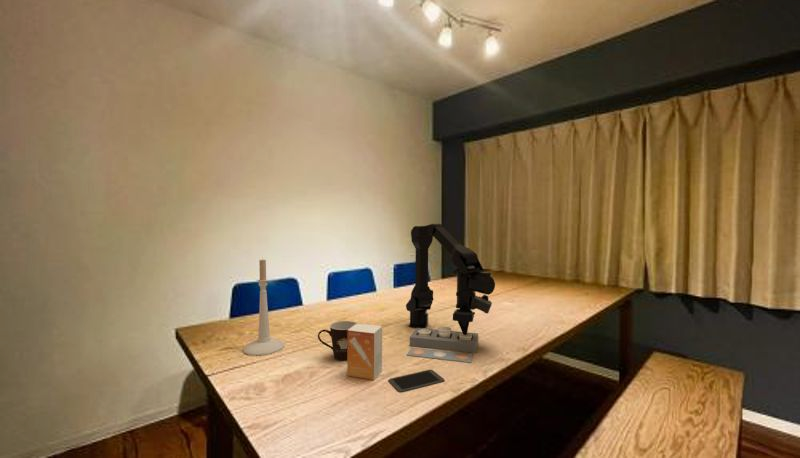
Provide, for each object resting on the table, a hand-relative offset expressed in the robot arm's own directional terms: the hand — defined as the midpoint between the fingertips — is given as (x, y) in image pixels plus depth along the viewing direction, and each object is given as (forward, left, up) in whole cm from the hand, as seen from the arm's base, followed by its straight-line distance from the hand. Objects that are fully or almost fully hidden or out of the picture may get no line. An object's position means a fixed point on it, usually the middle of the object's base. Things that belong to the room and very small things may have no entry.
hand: (465, 334), depth 118 cm
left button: (-14, 0, -3) cm, 14 cm away
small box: (-25, -28, -4) cm, 38 cm away
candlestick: (-64, -20, -4) cm, 67 cm away
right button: (0, 0, -3) cm, 3 cm away
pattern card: (-7, -10, -4) cm, 13 cm away
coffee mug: (-37, -19, -4) cm, 42 cm away
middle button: (-7, 0, -2) cm, 7 cm away
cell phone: (-10, -28, -4) cm, 30 cm away
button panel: (-7, 0, -4) cm, 8 cm away
